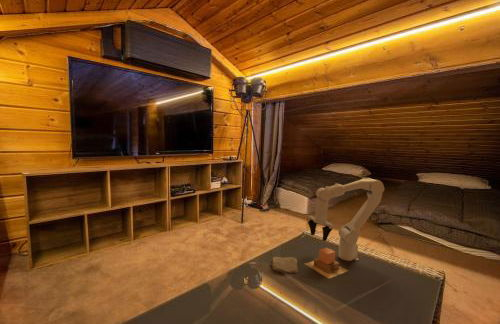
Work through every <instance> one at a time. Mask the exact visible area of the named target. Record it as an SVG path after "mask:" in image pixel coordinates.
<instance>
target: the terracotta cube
mask: <svg viewBox="0 0 500 324" xmlns="http://www.w3.org/2000/svg"><path fill="white" fill-rule="evenodd" d="M318 258H319V260H320V261H322V262H323V263H325V264H327V265H328V264H331V263H334V262H335V261H336V260H335V259H336V251H335V250H333V249H331V248H329V247H326V246H325V247H324V248H320V249H319V252H318Z"/></svg>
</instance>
